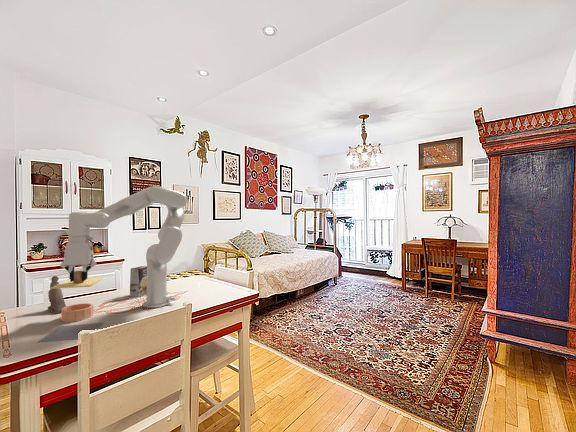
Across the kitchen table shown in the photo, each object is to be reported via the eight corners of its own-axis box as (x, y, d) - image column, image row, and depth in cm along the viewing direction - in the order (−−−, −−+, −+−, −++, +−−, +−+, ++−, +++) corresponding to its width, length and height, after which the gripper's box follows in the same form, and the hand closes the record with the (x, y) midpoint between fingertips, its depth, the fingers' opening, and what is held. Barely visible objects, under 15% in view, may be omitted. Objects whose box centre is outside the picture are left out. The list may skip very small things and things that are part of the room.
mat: (104, 323, 119) (104, 322, 119) (88, 339, 103) (88, 338, 103) (60, 327, 114) (60, 325, 114) (36, 344, 99) (36, 342, 99)
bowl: (96, 313, 131) (97, 302, 131) (86, 321, 121) (86, 310, 121) (69, 315, 128) (69, 304, 129) (55, 323, 118) (56, 312, 118)
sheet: (102, 279, 133) (102, 267, 133) (90, 286, 119) (90, 273, 119) (67, 281, 129) (67, 269, 129) (51, 288, 115) (51, 275, 116)
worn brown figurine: (47, 314, 135) (44, 277, 138) (61, 311, 140) (58, 275, 142) (54, 315, 129) (51, 275, 131) (68, 311, 133) (66, 273, 135)
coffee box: (139, 297, 159) (140, 269, 159) (129, 296, 160) (129, 268, 160) (149, 293, 168) (150, 266, 168) (140, 292, 169) (140, 266, 169)
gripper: (103, 238, 130) (102, 278, 130) (61, 239, 126) (60, 280, 126) (97, 240, 123) (96, 281, 123) (52, 240, 118) (51, 283, 118)
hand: (78, 280), depth 124 cm, fingers closed on sheet, 3 cm apart
